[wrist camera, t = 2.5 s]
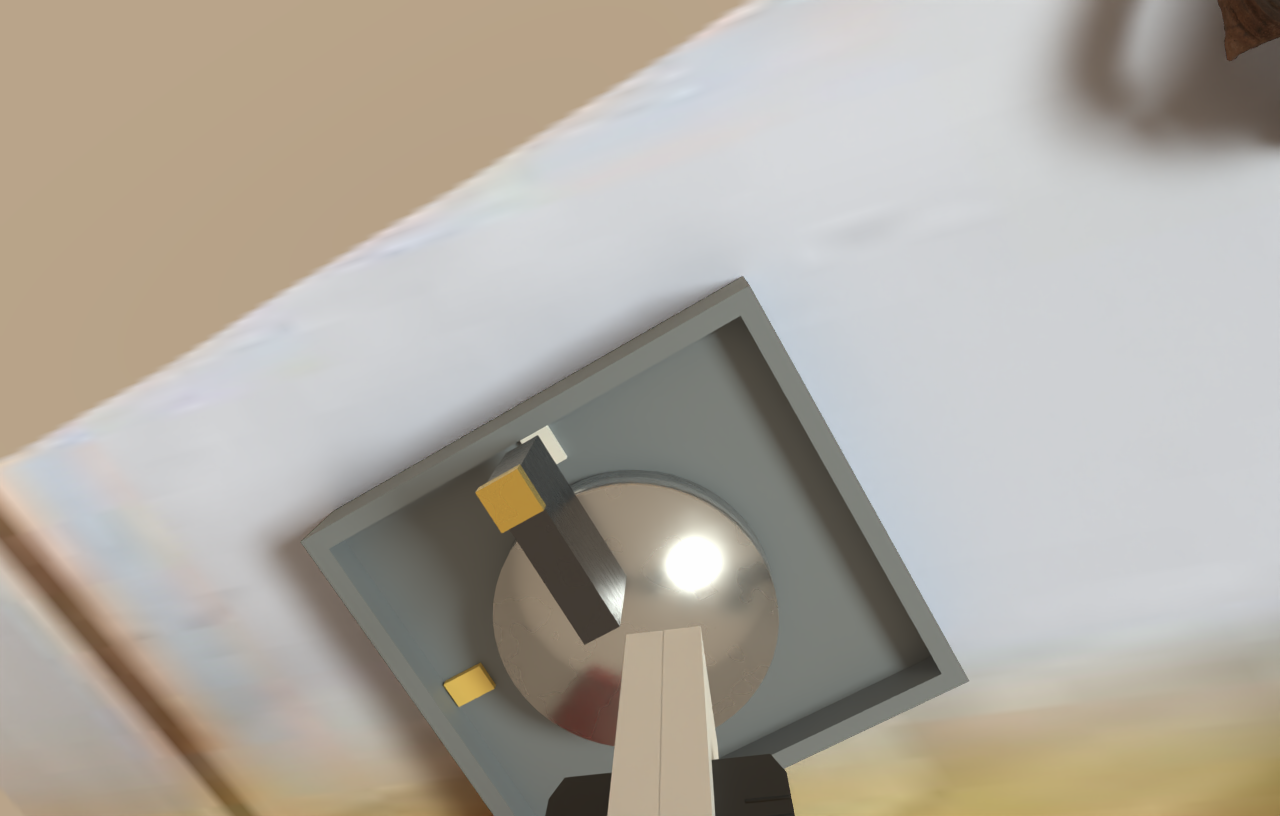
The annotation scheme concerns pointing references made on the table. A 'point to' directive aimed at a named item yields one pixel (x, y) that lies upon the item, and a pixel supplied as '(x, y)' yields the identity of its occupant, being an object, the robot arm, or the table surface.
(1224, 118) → the table surface
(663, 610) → the dial
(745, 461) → the grey tray
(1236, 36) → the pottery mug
